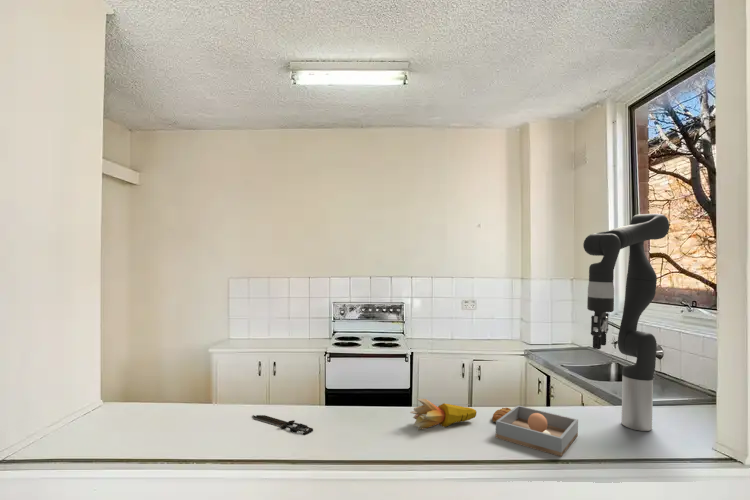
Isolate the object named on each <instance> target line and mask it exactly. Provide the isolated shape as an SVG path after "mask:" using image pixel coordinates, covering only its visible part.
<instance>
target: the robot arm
mask: <svg viewBox="0 0 750 500" xmlns="http://www.w3.org/2000/svg"><path fill="white" fill-rule="evenodd" d="M669 231H670V222H669V219H668V217H667V216H666V215H664V214H662V213H643V214H641V213H639V214H635V215H634V216H632V218H631V220H630V222H629V225H623V226H622V225H621V226H619V227H615V228H612V229H611V230H607V231H600V232H595V233H591V234H589V235H587V236H586V238H585V239H584V240H583V244H582V245H583V250H584V251H585V253H587V254H588V255H589V256H597V257H599V256H601V257H602V259H601V260H600V262H593V263H592V264H589V268H588V270H589V271H588V285H587V301H586V302H587V306H586V307H587V308H586V309H587V310H588V311H591V312H594V313H593V315H591V317H590V318H591V320H590V321H591V322H590V325H591V326H590V335H591V336H592V349H594V350H601V349H602V346H606V345H607V333H608V331H609V316H610V315H609V313H614V311H615V286H614V278H615V277H614V275H615V274H614V273H615V272H614V270H615V266H616V264H617V260H618V257H619V255H620V251H621V250H622V249H625V248H627V247H628V248H629V253H628V265H627V275H626V282H625V292H624V302H623V303H624V305H623V311H622V318H621V321H620V326H619V330H618V337H617V347H618V350H619V352H620V353H621V354H622V355H624V356H629V357H633V358H636V362H635V364H631V365H625V366H623V367H622V376H621V377H622V378H621V379H622V381H621V385H622V388H621V425H622V426H624V427H626V428H628V429H630V430H635V431H642V432H648V431H652V430H653V403H654V402H653V401H654V399H653V398H654V393H653V392H654V385H653V384H654V374H655V370H656V365H657V364H656V363H657V362H656V361H657V360H656V359H657V350H658V347H657V346H658V345H657V339H656V337H655V336H654V335H653V334H652V333H650V332H645V331H640V330H638V329H637V328H638V323H639V321H640V317H641V315H642V314H643V312H644V311H645V310H646V309H647V307H648V306H649V305H650V304H651V303H652V301H654V298H655V296H656V291H657V281H658V276H657V274H656V271H655V270H654V268H653V266H652V264H651V263H650V261H649V259H648V257H647V256H646V252H645V247H644V245H645V244H644V242H646V241H650V240H656V241H657V240H661V239H663V238H666V236H667V235H668V234H669Z"/></svg>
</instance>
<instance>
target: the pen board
mask: <svg viewBox="0 0 750 500" xmlns="http://www.w3.org/2000/svg"><path fill="white" fill-rule="evenodd" d="M512 425H516V426H520V427H523V428H527V429H530V427H529V425H528V420H526V419H522V418H518V419H517V420H516V421H514V422H513V423H512ZM565 431H566V430H565V429H561V428H557V427H553V426H550V425H547V428H546V430H545V431H544V432H542V433H546V434H550V435H554V436H557V437H560V436H561V435H562V434H563V433H564V432H565ZM578 435H579V431H578V432H577V434H576V435H575V436H574V437H573V439H572V440H571V441H570V442H569V444H568V445H567V446H566V447H565V449H564V450H563V451H562V453H561V452H558V451H554V450H551V449H547V448H544V447H540V446H537V445H533V444H530V443H526V442H523V441H519V440H516V439H512V438H509V437H505V436H502V435H498V434H496V433H495V438H496V439H500V440H502V441H506V442H510V443H512V444H517V445H521V446H524V447H527V448H530V449H533V450H537V451H539V452H540V451H541V452H544V453H546V454H547V453H548V454H551V455H555V456H558V457H563V455H564V454H565V453H566V451H567V450H568V449H569V447H571V445H572V444H573V442H574V441H575V440H576V438H577V437H579V436H578Z"/></svg>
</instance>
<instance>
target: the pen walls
mask: <svg viewBox="0 0 750 500" xmlns="http://www.w3.org/2000/svg"><path fill="white" fill-rule="evenodd" d="M533 413H539V414H542V415H543V416H544V417H545V418H546V420H547V425H550V426H553V427H557V428H561V429H565V430H566V431H565V432H564V433H563V434H562V435H561V436H560V437H557V436H554V435H550V434H546V433H542V432H538V431H535V430H531V429H527V428H523V427H520V426H516V425H512V423H513V422H514V421H516V420H517V419H518V418H522V419H526V420H528V418H529V416H530V415H531V414H533ZM577 432H578V433H579V419H577V418H572V417H569V416H564V415H560V414H557V413H551V412H548V411H544V410H539V409H535V408H531V407H526V406H522V405H519V404H518V405H515V406H514V407H513V408H512V409H511V411H509V412H508V413H507V414H505V415H504V416H502V417H501V418H500V419H498V420H497V421H496V422H495V435H496V434H498V435H502V436H505V437H509V438H512V439H516V440H519V441H523V442H526V443H530V444H533V445H537V446H540V447H544V448H547V449H551V450H554V451H558V452H561V453H562V451H563V450H564V449H565V447H566V446H567V445H568V444H569V442H570V441H571V440H572V439H573V437H574V436H575V435H576V434H577Z"/></svg>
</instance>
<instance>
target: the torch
mask: <svg viewBox="0 0 750 500" xmlns="http://www.w3.org/2000/svg"><path fill="white" fill-rule="evenodd" d="M416 400H417V401H418V402H419V403H420V404H422V405H419V406H416V407H414V408H413V410H411V411H410V412H409V413H410V414H413V415H414V416H413V417H412V418H413V419H414V420H415V422H414V425H413V427H417V429H416V431H421V430H425V429H428V428H431V427H434V426H436V425H440V426H441V427H443V428H447V427H449V426H451V425H454V424H456V423H462V422H466V421H467V422H468V421H470V420H472V419H474V418H475V417H476V416H477V411H476V409H474V408H473V407H467V406H460V405H455V404H450V403H445V402H444V403H442V404H441V403H440V405H438V406H437V405H435V404H434V403H433V402H431V401H430V400H428V399H427V398H416Z"/></svg>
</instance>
